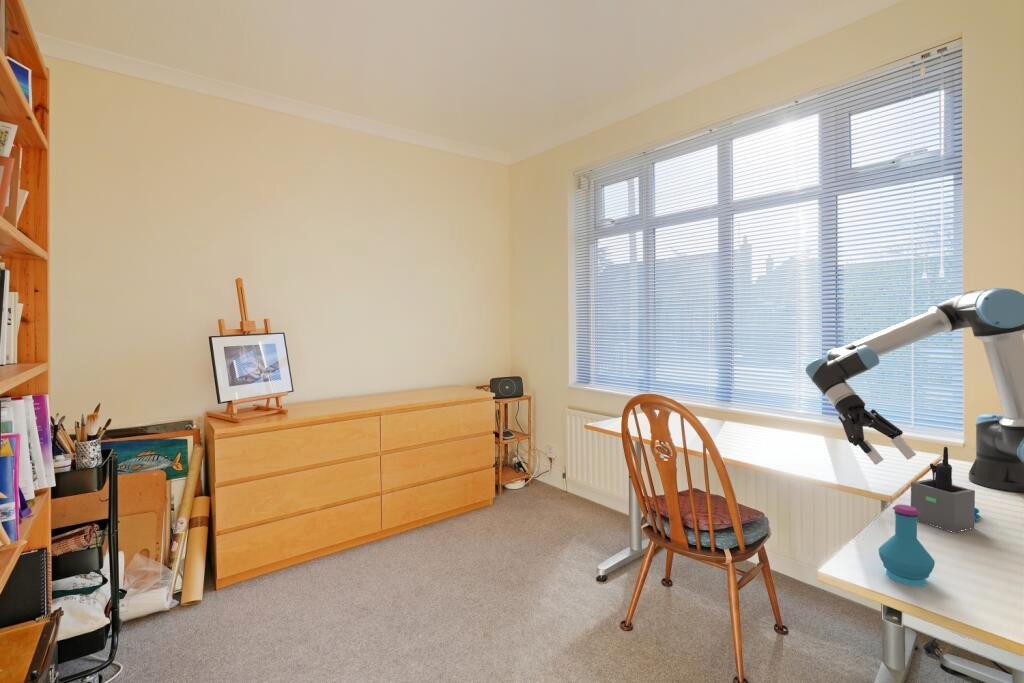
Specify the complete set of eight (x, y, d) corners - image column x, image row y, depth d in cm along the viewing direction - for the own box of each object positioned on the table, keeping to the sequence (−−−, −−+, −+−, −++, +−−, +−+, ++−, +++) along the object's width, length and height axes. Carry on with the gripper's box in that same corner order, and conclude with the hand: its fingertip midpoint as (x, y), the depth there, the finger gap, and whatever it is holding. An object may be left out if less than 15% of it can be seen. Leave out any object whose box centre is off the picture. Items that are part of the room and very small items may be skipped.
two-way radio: (952, 505, 123) (953, 448, 123) (930, 502, 126) (930, 446, 126) (951, 499, 128) (952, 444, 127) (929, 496, 131) (929, 442, 130)
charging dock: (930, 514, 133) (930, 478, 133) (974, 528, 124) (974, 490, 123) (909, 518, 130) (910, 482, 130) (953, 533, 121) (953, 494, 121)
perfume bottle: (939, 593, 95) (940, 519, 94) (881, 581, 100) (881, 510, 99) (929, 572, 102) (930, 504, 102) (875, 562, 107) (876, 496, 107)
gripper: (864, 404, 158) (914, 461, 144) (808, 410, 150) (855, 470, 136) (881, 390, 153) (935, 448, 139) (824, 395, 145) (875, 457, 131)
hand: (896, 459), depth 137 cm, fingers open, 13 cm apart
